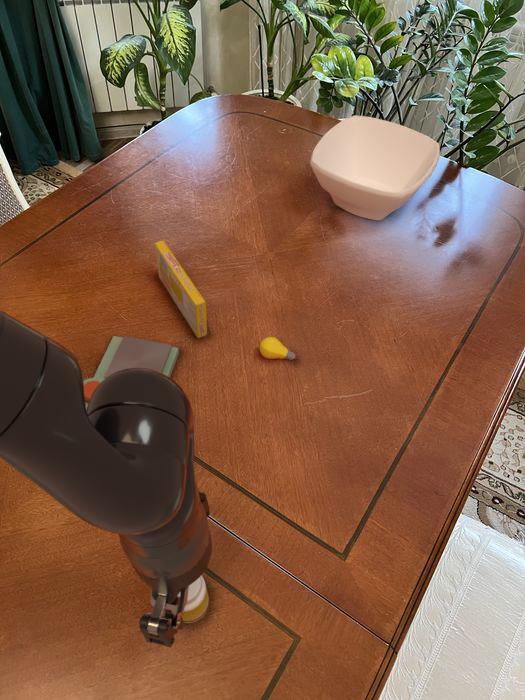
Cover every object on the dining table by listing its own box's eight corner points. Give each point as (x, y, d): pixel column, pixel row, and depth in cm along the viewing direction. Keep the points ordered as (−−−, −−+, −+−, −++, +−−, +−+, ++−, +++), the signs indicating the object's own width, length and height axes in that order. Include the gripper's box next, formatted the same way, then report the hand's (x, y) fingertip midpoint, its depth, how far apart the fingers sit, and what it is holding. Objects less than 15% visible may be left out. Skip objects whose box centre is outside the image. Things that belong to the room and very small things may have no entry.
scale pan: (156, 387, 85) (155, 386, 84) (104, 377, 86) (104, 376, 85) (172, 345, 89) (172, 344, 89) (124, 336, 90) (123, 335, 90)
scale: (148, 432, 83) (145, 422, 81) (72, 417, 85) (66, 406, 82) (179, 352, 92) (177, 341, 90) (109, 339, 94) (105, 328, 91)
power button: (100, 405, 83) (98, 399, 82) (80, 401, 83) (78, 395, 82) (108, 388, 85) (105, 382, 84) (89, 384, 85) (86, 378, 84)
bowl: (394, 254, 107) (408, 204, 97) (291, 212, 114) (295, 162, 104) (438, 191, 118) (453, 141, 109) (342, 156, 125) (349, 106, 116)
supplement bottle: (217, 597, 70) (213, 577, 63) (193, 632, 68) (186, 615, 61) (186, 574, 72) (179, 552, 65) (161, 607, 69) (152, 588, 62)
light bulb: (257, 345, 93) (265, 329, 91) (291, 359, 94) (300, 343, 92) (254, 358, 91) (262, 341, 88) (289, 371, 91) (298, 355, 89)
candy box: (209, 334, 95) (206, 301, 88) (197, 339, 94) (193, 306, 87) (169, 273, 103) (163, 238, 96) (158, 277, 102) (151, 242, 96)
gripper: (152, 454, 55) (172, 515, 68) (96, 608, 47) (130, 645, 60) (227, 469, 54) (233, 529, 67) (183, 629, 46) (200, 662, 59)
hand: (185, 583), depth 64 cm, fingers open, 8 cm apart
